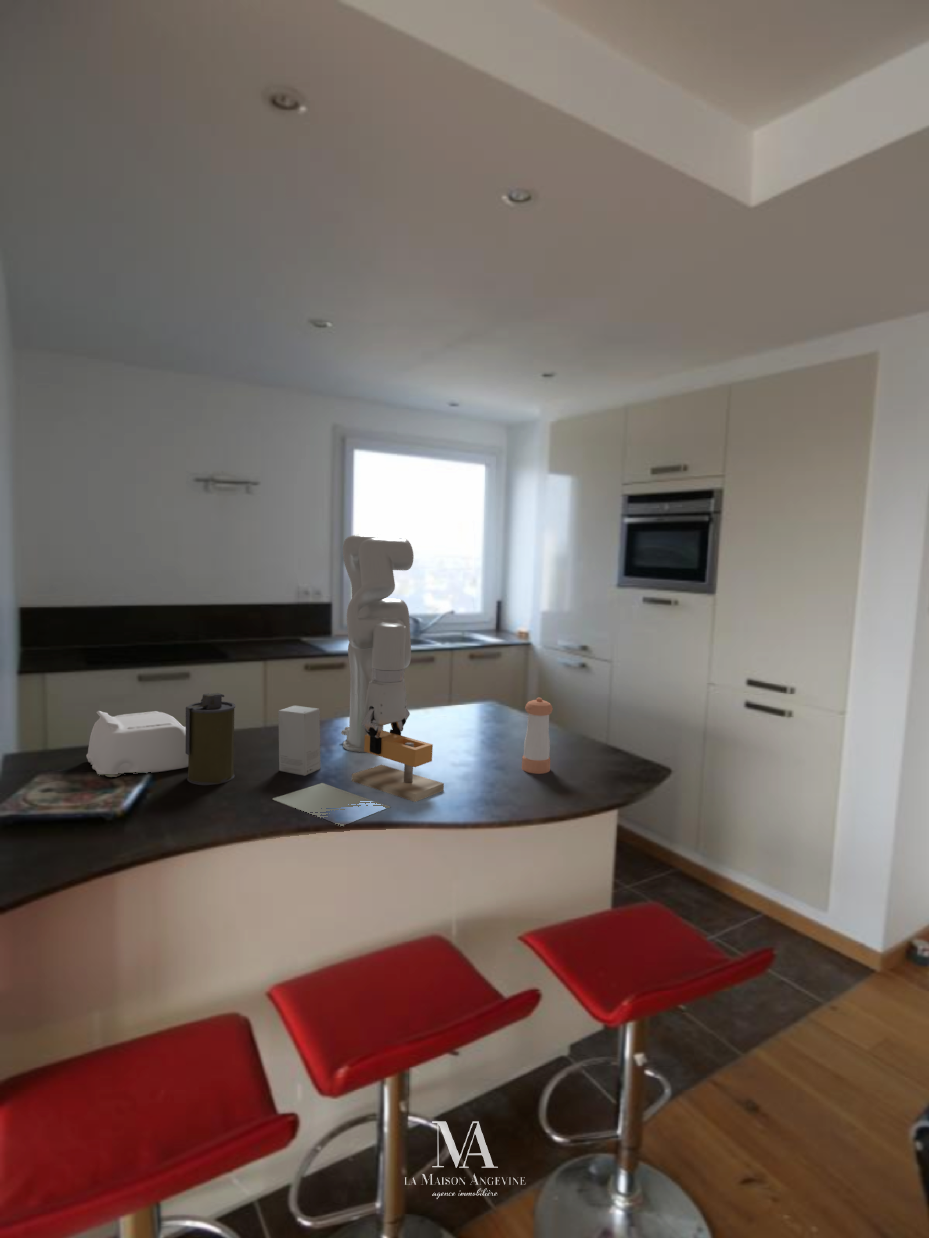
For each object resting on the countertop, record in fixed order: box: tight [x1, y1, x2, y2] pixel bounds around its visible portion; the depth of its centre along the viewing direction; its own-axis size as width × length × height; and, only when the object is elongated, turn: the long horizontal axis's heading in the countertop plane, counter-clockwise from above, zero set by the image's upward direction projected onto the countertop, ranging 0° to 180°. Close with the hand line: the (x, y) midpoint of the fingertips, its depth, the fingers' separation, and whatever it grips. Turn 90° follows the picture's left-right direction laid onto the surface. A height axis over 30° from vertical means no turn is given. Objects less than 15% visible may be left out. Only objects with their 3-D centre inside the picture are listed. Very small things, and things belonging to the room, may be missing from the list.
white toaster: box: [86, 710, 188, 775], centre depth 167 cm, size 19×30×13 cm, turn 128°
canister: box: [185, 692, 236, 786], centre depth 156 cm, size 11×10×20 cm
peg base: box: [351, 743, 445, 803], centre depth 156 cm, size 20×10×11 cm, turn 53°
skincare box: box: [277, 705, 321, 777], centre depth 165 cm, size 8×7×16 cm
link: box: [364, 729, 434, 768], centre depth 156 cm, size 16×6×4 cm, turn 53°
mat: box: [272, 782, 391, 827], centre depth 144 cm, size 22×14×1 cm, turn 53°
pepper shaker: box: [521, 697, 554, 775], centre depth 173 cm, size 7×7×19 cm
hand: (385, 749), depth 159 cm, fingers closed on link, 6 cm apart
